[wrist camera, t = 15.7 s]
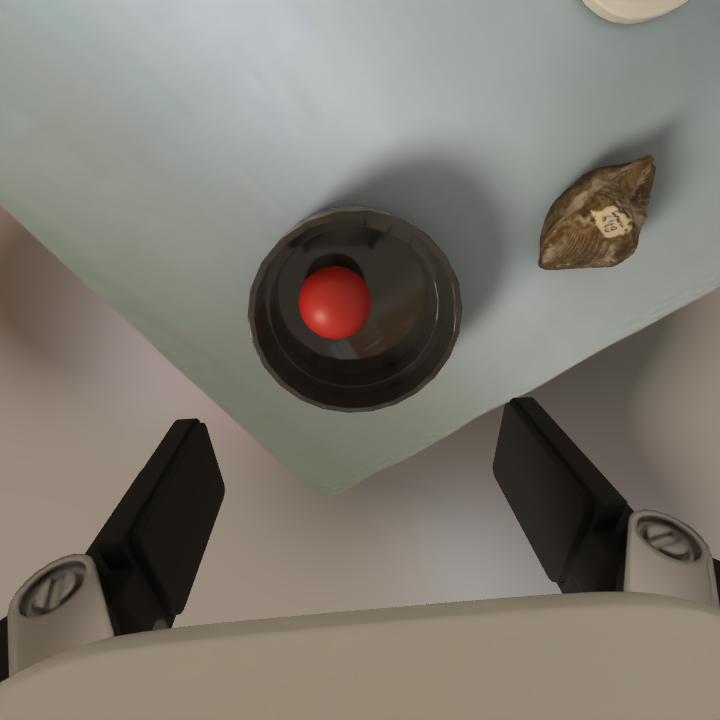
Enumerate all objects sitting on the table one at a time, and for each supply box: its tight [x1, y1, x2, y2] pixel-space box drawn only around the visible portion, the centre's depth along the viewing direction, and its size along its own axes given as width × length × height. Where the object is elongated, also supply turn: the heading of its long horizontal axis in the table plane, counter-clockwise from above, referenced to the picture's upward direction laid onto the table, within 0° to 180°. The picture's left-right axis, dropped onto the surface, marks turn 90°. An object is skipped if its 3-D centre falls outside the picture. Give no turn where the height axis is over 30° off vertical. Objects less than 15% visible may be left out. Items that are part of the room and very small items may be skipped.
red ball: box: [299, 266, 371, 339], centre depth 29 cm, size 6×6×6 cm
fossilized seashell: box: [538, 155, 655, 270], centre depth 28 cm, size 8×7×10 cm
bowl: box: [248, 206, 462, 413], centre depth 30 cm, size 17×17×6 cm
